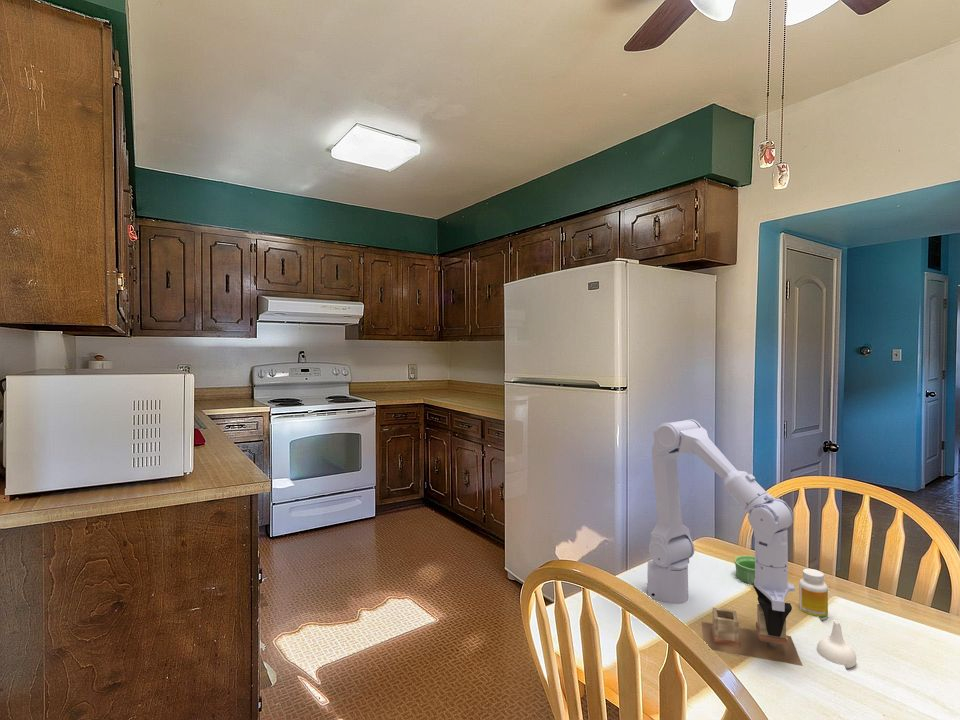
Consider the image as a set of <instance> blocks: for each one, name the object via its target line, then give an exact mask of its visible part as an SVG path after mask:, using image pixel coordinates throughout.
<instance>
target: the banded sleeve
mask: <svg viewBox="0 0 960 720" xmlns="http://www.w3.org/2000/svg"><path fill="white" fill-rule="evenodd" d="M756 606H757V607H756V608H757V609H756V610H757V613H756V614H757V615H756V616H757V618H756V619H757V621H756V622H755V629H756V630H755V631H757V634H758V638H759V639H760V640H761V641H767V642H772V643H778V644H784V645H787V644H788V638H787V636H788V635H787V618H786V619H785V622H784V625H783V630H782V633H781V636H780V637H777V636H770V635H768V632H767V629H766V624H765V617H764V613H763V610H762V608H761V606H760V604H759V603H757V604H756ZM786 635H787V636H786Z"/></svg>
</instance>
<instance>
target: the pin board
mask: <svg viewBox="0 0 960 720" xmlns="http://www.w3.org/2000/svg"><path fill="white" fill-rule="evenodd" d="M711 625H712V626H713V623H710V622H705V621H701V629H702V630H701V631H702V641H703V640H704V641H705V642H706V644H708V646H709V647H710V648H711V649H712V650H711V651H717V652H722V653H728V654H733V655H738V656H745V657H750V658H756V659H761V660H762V659H763V660H768V661H773V662H778V663H779V662H780V663H784V664H791V665H795V666H803V664H802V662H801V658H800V656H799V654H798V651H797V648H796V645H795V643H794V641H793V638H792V636H791V635H787V634H786V636H787V638H788V644H787V645H784V644H778V643H772V642H767V641H761V640H760V639H759V638H758V634H757V630H755V629H747V628H742V627H738V629H739V638H740V647H734V646H729V645H723V644H717V643H713V638H712V631H711ZM704 641H703V642H704Z"/></svg>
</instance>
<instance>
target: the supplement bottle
mask: <svg viewBox="0 0 960 720" xmlns="http://www.w3.org/2000/svg"><path fill="white" fill-rule="evenodd" d="M802 577H803V578H802ZM802 577H801V579H800V580H799V583H798V585H799V586H798V587H799V597H798V598H799V600H798V601H799V604H798V605H799V609H800V611H802V612H803V613H805V614H807V615H810V616H813V617H817V618H818V619H819V620H820V621H825V620H827V619H828V618H829V617H828V616H829V606H828V605H829V592H828V591H829V587H828V584H827V583H825V574H824V572H822V571H821V570H817V569H814V568H804V569H803V570H802Z"/></svg>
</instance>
